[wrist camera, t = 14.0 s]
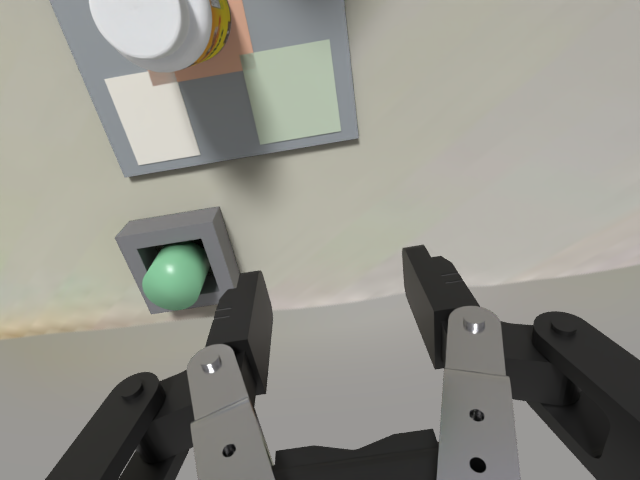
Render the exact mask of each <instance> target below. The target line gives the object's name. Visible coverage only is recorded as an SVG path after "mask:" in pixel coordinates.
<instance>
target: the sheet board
mask: <svg viewBox="0 0 640 480" xmlns="http://www.w3.org/2000/svg"><path fill="white" fill-rule="evenodd" d="M50 3H51V5H52V7H53V10H54V12H55V15H56V17H57V19H58V22H59V24H60V26H61V29H62V31H63V33H64V36H65V38H66V40H67V43H68V45H69V47H70V50H71V52H72V55H73V57H74V59H75V62H76V64H77V66H78V69H79V71H80V73H81V76H82V78H83V80H84V83H85V85H86V87H87V90H88V92H89V94H90V97H91V99H92V102H93V104H94V106H95V109H96V111H97V113H98V116H99V118H100V120H101V123H102V125H103V127H104V130H105V132H106V134H107V137H108V139H109V142H110V144H111V146H112V149H113V151H114V153H115V156H116V158H117V160H118V163H119V165H120V167H121V170H122V172H123V174H124V177H131V176H137V175H143V174H148V173H154V172H160V171H166V170H172V169H178V168H184V167H190V166H196V165H202V164H208V163H214V162H220V161H226V160H232V159H238V158H244V157H250V156H256V155H261V154H267V153H273V152H279V151H285V150H291V149H297V148H303V147H309V146H315V145H321V144H327V143H333V142H339V141H345V140H351V139H357V138H359V137H358V127H357V118H356V108H355V99H354V90H353V80H352V71H351V62H350V52H349V43H348V33H347V24H346V15H345V5H344V0H228V3H229V6H230V11H231V30H230V35H229V38H228V40H227V42H226V44H225V46H224V47H223V49H222V50H221V51H220V52H219V53H218V54H217V55H215V56H214V57H212V58H211V59H208V60H206V61H204V62H201V63H198V64H195V65H193V66H190V67H187V68H185V69H182V70H178V71H174V72H154V71H150V70H147V69H144V68H141V67H139V66H137V65H135V64H133V63H132V62H130V61H129V60H127V59H126V58H125V57H124V56H122V55H121V54H120V53H119V52H118V51H117V50H116V49H115V48H114V47H113V46H112V45H111V44H110V43H109V42H108V41H107V40H106V39H105V38H104V37H103V35H102V34H101V33H100V31H99V30H98V28H97V26H96V24H95V22H94V20H93V17H92V14H91V11H90V6H89V0H50Z"/></svg>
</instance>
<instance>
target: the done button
mask: <svg viewBox="0 0 640 480" xmlns="http://www.w3.org/2000/svg"><path fill="white" fill-rule="evenodd" d="M209 267H210V262H209V259H208V256H207V253H206V252H205V250H204V249H203V248H202V247H200V246H199V245H197V244H196V243H194V242H191V241H182V242H176V243H170V244H166V245H164V246H163V247H162V249H161V250H160V252H159V253H158V255H157V257H156V258H155V260H154V261H153V263H152V265H151V266H150V268H149V269H148V271H147V273H146V274H145V276H144V278H143V282H142V287H143V291H144V293H145V295H146V296H147V298H148V299H149V300H150V301H151V302H152V303H154V304H155V305H157V306H159V307H161V308H164V309H168V310H182V309H186V308H188V307H190V306H192V305H193V304H194V303H195V302H196V301H197V299H198V297H199V294H200V292H201V289H202V286H203V284H204V281H205V278H206V276H207V273H208V270H209Z"/></svg>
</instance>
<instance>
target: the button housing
mask: <svg viewBox="0 0 640 480" xmlns="http://www.w3.org/2000/svg"><path fill="white" fill-rule="evenodd" d="M115 239H116V241H117V244H118V246H119V248H120V250H121V252H122V254H123V256H124V258H125V260H126V262H127V264H128V267H129V269H130V271H131V273H132V275H133V277H134V279H135V281H136V283H137V285H138V288H139V290H140V292H141V294H142V296H143V298H144V300H145V302H146V304H147V306H148V309H149V311H150V313H151V314H156V313H163V312H169V311H176V310H168V309H164V308H161V307H159V306H157V305H155V304H154V303H152V302H151V301H150V300H149V299H148V298H147V296H146V295H145V293H144V291H143V287H142V282H143V278H144V276H145V274H146V273H147V271H148V269H149V268H150V266H151V265H152V263H153V261H154V260H155V258H156V257H157V255H158V251H157V249H156V247H155V246H158V245H164V244H170V243H176V242H182V241H189V240H195V239H202V242H203V245H204V248H205V251H206V253H207V256H208V259H209V262H210V265H211V268H212V271H213V273H214V274H213V275H207V276H206V278H205V281H204V284H203V286H202V289H201V292H200V294H199V297H198V299H197V301H196V302H195V303H194V304H193V305H192V306H190V307H188V308H186V309H189V308H195V307H202V306H208V305H214V304H218V302H219V299H220V298H221V297H222V296H223V294H224V293H225V292H226V291H227V290H228V289H233V288H236V287H237V283H238V279H239V275H240V272H239V269H238V265H237V262H236V259H235V256H234V253H233V249H232V246H231V243H230V240H229V237H228V233H227V230H226V227H225V224H224V220H223V217H222V214H221V211H220V208H219V207H213V208H206V209H200V210H194V211H188V212H182V213H176V214H170V215H164V216H158V217H152V218H146V219H139V220H133V221H129V222H128V223H127V224H126V225H125V227H124V228H123V229H122V230H121V231H120V232H119V233H118V234H117V236H116V237H115Z"/></svg>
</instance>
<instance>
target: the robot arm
mask: <svg viewBox="0 0 640 480" xmlns="http://www.w3.org/2000/svg"><path fill="white" fill-rule="evenodd" d="M402 258H403V274H404V287H405V292H406V297H407V299H408V302H409V305H410V308H411V310H412V312H413V315H414V318H415V320H416V323H417V325H418V328H419V330H420V333H421V335H422V338H423V340H424V343H425V345H426V348H427V351H428V353H429V356H430V358H431V361H432V363H433V366H434V368H435V369H441V368H444V378H443V393H442V407H441V423H440V438H439V442H437V440H436V437H435V434H434V431H433V429H428V430H421V431H413V432H407V433H399V434H393V435H391V436H389V437H386V438H384V439H381V440H379V441H376V442H374V443H372V444H369V445H367V446H364V447H362V448H360V449H356V450H348V449H339V448H330V447H322V446H308V447H301V448H293V449H286V450H279V451H276V457H275V465H274V464H273V461H272V458H271V455H270V452H269V450H268V447H267V444H266V441H265V438H264V435H263V432H262V429H261V426H260V423H259V420H258V417H257V414H256V411H255V408H254V405H255V396H256V395H261V394H266V387H267V377H268V366H269V355H270V345H271V334H272V324H273V313H272V306H271V302H270V299H269V295H268V291H267V288H266V284H265V281H264V277H263V274H262V272H261V271H253V272H247V273H241V274H240V275H239V279H238V283H237V287H236V288H233V289H228V290H227V291H226V292H225V293H224V294H223V296H222V297H221V298H220V299H219V302H218V306H217V309H216V310H217V311H216V312H215V316H214V320H213V323H212V326H211V329H210V333H209V336H208V339H207V343H206V346H205V348H203V349H202V350H200V351H198V352H197V353H196V354H195V355H194V356H193V357H192V358H191V359H190V361H189V363H188V365H187V370H185V371H184V372H181V373H179V374H177V375H174V376H172V377H169V378H167V379H164V380H162V381H159V380H158V378H157V376H156V375H155V374H153V373H150V372H142V373H137V374H134V375H132V376H130V377H128V378H126V379H125V380H123V381H122V382H120V383H119V384H118V385H117V386H116V387H115V388H114V389H113V390H112V392H111V393H110V394H109V395H108V397H107V398H106V399H105V401H104V402H103V403H102V405H101V406H100V408H99V409H98V410H97V411H96V413H95V414H94V415H93V417H92V418H91V420H90V421H89V422H88V423H87V425H86V426H85V427H84V429H83V430H82V431H81V433H80V434H79V435H78V437H77V438H76V439H75V441H74V442H73V443H72V445H71V446H70V447H69V449H68V450H67V451H66V453H65V454H64V455H63V457H62V458H61V459H60V461H59V462H58V463H57V464H56V466H55V467H54V468H53V470H52V471H51V472H50V474H49V475H48V477H47V478H46V479H45V480H118V479H119V480H175V479H176V477H177V475H178V473H179V470H180V468H181V466H182V464H183V462H184V460H185V458H186V456H187V454H188V451H189V449H190V448H192V447H193V448H194V455H195V462H196V469H197V476H198V480H521V477H520V468H519V459H518V449H517V439H516V431H515V421H514V411H513V403H512V399H515V400H523V401H527V403H528V404H529V405H530V407H531V408H532V409H533V410H534V411H535V412H536V413H537V414H538V415H539V417H540V418H541V419H542V420H543V421H544V422H545V423H546V424H547V425H548V427H550V429H551V430H552V431H553V432H554V433H555V434H556V435H557V436H558V438H559V439H560V440H561V441H562V442H563V443H564V444H565V445H566V446H567V448H568V449H569V450H570V451H571V452H572V453H573V454H574V455H575V456H576V457H577V459H578V460H579V461H580V462H581V463H582V464H583V465H584V466H585V467H586V468H587V470H588V471H589V472H590V473H591V474H592V475H593V476H594V477H595V478H596V480H640V360H639V359H637V358H636V357H634V356H633V355H632V354H630V353H629V352H628V351H626V350H625V349H623V348H622V347H621V346H619V345H618V344H616V343H615V342H614V341H612V340H611V339H610V338H608V337H607V336H605V335H604V334H603V333H601V332H600V331H598V330H597V329H596V328H594V327H593V326H591V325H590V324H589V323H587V322H586V321H584V320H583V319H581V318H579V317H577V316H575V315H572V314H569V313H565V312H546V313H543V314H540V315H539V316H537V317H536V319H535V320H534V325H522V324H511V323H506V322H502V321H500V320H499V318H498V317H497V315H495V314H494V313H493V312H491V311H490V310H488V309H485V308H482V307H480V306H479V304H478V303H477V301H476V299H475V298H474V296H473V295H472V293H471V292H470V290H469V289H468V287H467V286H466V284H465V282H464V281H463V279H462V278H461V276H460V275H459V274H458V272H457V270H456V268H455V267H454V265H453V264H452V263H451V262H450V261H448V260H447V259H445V258H443V257H442V256H437V257H431V256H430V255H429V253H428V251H427V249H426V248H425V246H424V245H419V246H412V247H406V248H403V249H402ZM135 449H136V452H135V453H134V455H133V456H132V454H133V452H134V451H135ZM131 456H132V458H131V460H130V461H129V459H130V457H131ZM128 461H129V463H128V465H127V466H126V464H127V462H128ZM125 466H126V468H125V470H124V471H123V469H124V467H125ZM122 471H123V473H122V475H121V476H120V474H121V472H122ZM119 476H120V478H119Z"/></svg>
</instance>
